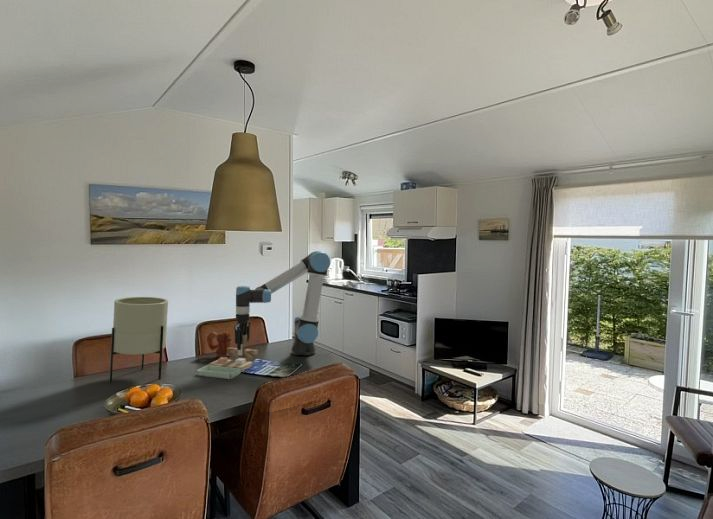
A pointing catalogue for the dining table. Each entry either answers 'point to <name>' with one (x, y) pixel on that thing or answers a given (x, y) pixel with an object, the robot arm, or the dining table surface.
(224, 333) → the reddish brown curved figurine
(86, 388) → the dining table surface
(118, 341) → the planter
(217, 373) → the tray
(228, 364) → the board
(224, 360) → the tile
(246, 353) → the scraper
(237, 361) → the tile
